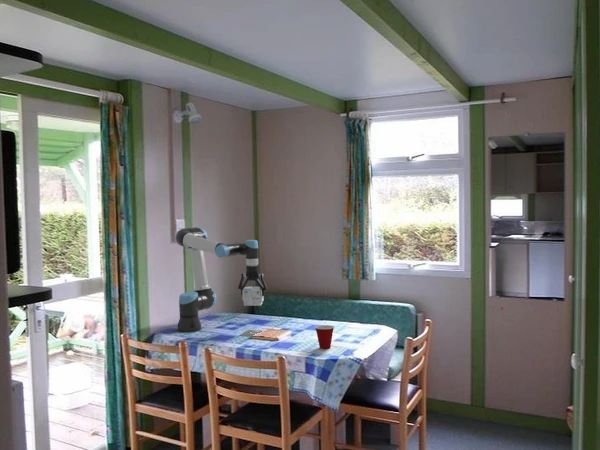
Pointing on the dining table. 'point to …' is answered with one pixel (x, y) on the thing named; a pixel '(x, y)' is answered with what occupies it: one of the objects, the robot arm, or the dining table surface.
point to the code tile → (250, 333)
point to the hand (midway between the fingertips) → (253, 300)
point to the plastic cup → (324, 336)
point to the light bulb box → (252, 296)
